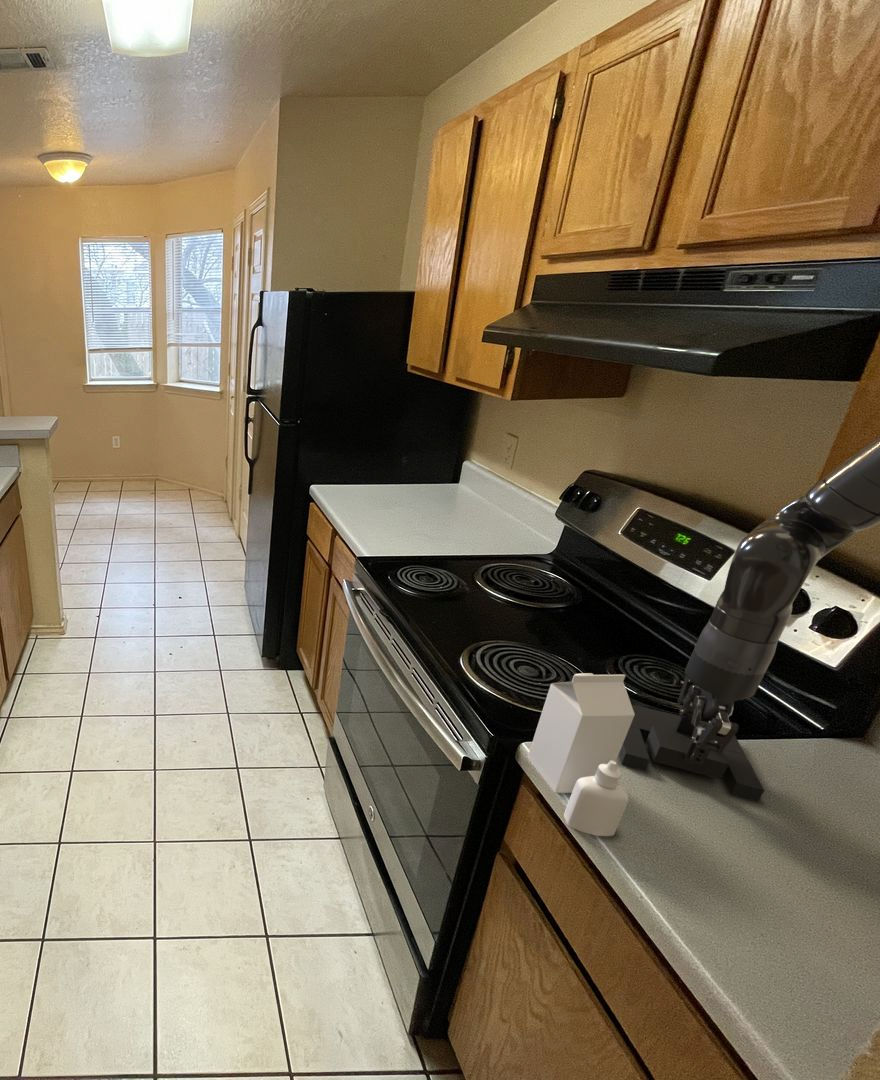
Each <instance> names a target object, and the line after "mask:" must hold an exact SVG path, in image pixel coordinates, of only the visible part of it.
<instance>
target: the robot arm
mask: <svg viewBox="0 0 880 1080" xmlns="http://www.w3.org/2000/svg"><path fill="white" fill-rule="evenodd" d="M879 524H880V436H879V437H877V438H876V439H874V440H873V441H871V442H870V443H868V444H867V445H865V446H864V447H862V448H861V449H859V450H858V451H856V453H854V454H853V455H851V456H849V457H848V458H847V459H846V460H844V461H843V462H842V463H841V464H839V465H837V466H836V467H835V468H834V469H832V470H831V471H830V472H829V473H827V474H826V475H825V476H824V477H822V478H820V480H818V481H817V482H815V483H814V485H813V486H811V488H809V489H808V490H807V491H806V493H804V494H803V495H802V496H800V497H798V498H797V499H795V500H794V501H792V502H791V503H789V504H787V505H785V506H784V507H782V508H781V509H779V510H778V511H777V512H776V513H774V514H773V515H771V516H770V517H768V518H767V519H765V520H764V521H762V522H761V523H759V524H758V525H757V526H756V527H755V528H754V529H752V530H751V531H750V532H749V533H748V534H747V535H745V537H743V539H742V540H741V541H740V542H739V544H738V546H737V547H736V550H735V552H734V554H733V556H732V559H731V561H730V565H729V568H728V572H727V575H726V580H725V583H724V589H723V590H722V592H721V594H720V596H719V597H718V599H717V601H716V604H715V606H714V608H713V610H712V613H711V615H710V617H709V619H708V622H706V625H705V626H703V629H702V630H701V632H700V635H699V637H698V639H697V641H696V644H695V645H694V649H693V650H692V651H691V652H692V653H691V655H690V656H689V659H688V662H687V664H686V667H685V669H684V674H685V677H684V679H683V683H682V686H681V690H680V692H679V696H678V699H677V705H678V706H681V707H680V708H679V711H678V712H679V716H680V719H679V721H678V723H677V725H676V728H675V730H674V731H676V732H680V733H684V734H688V735H692V738H691V740H690V743H689V745H688V747H687V749H686V751H685V754H684V756H683V758H684V760H685V762H687V763H691V764H694V765H698V766H701V765H703V764H704V762H705V760H706V758H707V756H708V754H709V752H710V751H714V752H717V753H721V752H722V751H723V750H724V748H725V747H726V746H727V745H728V743H729V742H730V741H731V739H732V738H733V737H734V735H735V736H736V734H737V733H738V731H739V724H738V723H736V722H731V721H730V718H729V717H730V716H732V715H733V711H734V707H735V706H734V703H735V702H737V701H741V700H748V699H750V698H752V697H754V696H755V694H756V692H757V690H758V688H759V686H760V684H761V682H762V680H763V679H764V676H765V674H766V672H767V670H768V669H769V666H770V665H771V663H772V660H773V659H774V656H775V654H776V650H777V646H778V642H779V640H780V639H781V637H782V634H783V632H784V631H785V628H786V626H787V624H788V622H789V620H790V618H791V616H792V615H791V614H792V612H793V603H794V601H795V600H796V598H797V596H798V594H799V592H800V590H801V589H802V587H803V585H804V584H805V582H806V580H807V578H808V577H809V575H810V573H811V572H812V570H813V569H814V567H815V566H816V565H817V563H818V562H819V561H820V560H821V559H822V558H823V557H825V556H826V555H827V554H829V553H831V551H833V550H834V549H836V548H837V547H839V546H840V545H842V544H843V543H844V542H846V541H848V540H849V539H850V538H851V537H853V536H854V535H856V534H857V533H858V532H860V531H864V530H865V531H866V530H869V529H871V528H873V527H875V526H877V525H879ZM700 721H705V722H708V724H707V723H703V722H700ZM702 730H705V731H704V732H703V733H702V735H701V732H702Z"/></svg>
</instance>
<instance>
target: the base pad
mask: <svg viewBox="0 0 880 1080" xmlns="http://www.w3.org/2000/svg"><path fill="white" fill-rule="evenodd" d="M631 705H632V708H633V711H634V714H635V715H634V718H633V720H632V722H631V725H630V727H629V730H628V732H627V735H626V737H625V740H624V742H623V745H622V747H621V750H620V752H619V755H618V757H619V761H620V765H622V766H625V767H629V768H633V769H637V770H641V771H644V772H646V770H647V768H648V765H649V764H650V761H651V759H650V756H649V755H650V754H649V752H648V749H647V746H646V744H645V743H647V741H646V740H647V738H648V735H649V733H650V731H651V728H652V726H655V727H659V728H663V729H667V730H672V731H674V730H675V728H676V725H677V723H678V721H679V719H680V716H681V715H677V714H675V713H674V714H673V713H669V712H665V711H661V710H656V709H653V708H648V707H644V706H640V705H636V704H632V703H631ZM700 722H703V723H707V724H708V722H709V721H705V720H700ZM704 731H705V730H702V732H701V735H702V733H703V732H704ZM722 752H723V754H724V756H725V758H726V760H727V762H728V764H729V765H728V767H727V769H726V771H725V773H724V775H723V776H722V778H723V780H724V782H725V784H726V786H727V789H728V791H729V793H730V795H733V796H735V797H740V798H743V799H747V800H750V801H754V802H759V801H760V800H761V798H762V797H763V794H764V792H765V788H764V786H763V785H762V783H761V781H760V779H759V777H758V775H757V774H756V771H755V769H754V768H753V766H752V764H751V762H750V761H749V758H748V757H747V755H746V753H745V751H744V750H743V747H742V746H741V744H740V742H739V740H738V739H737V737H736V734H735V735H734V737H733V738H732V739H731V741H730V742H729V743H728V745H727V746H726V747H725V748H724V750H723V751H722Z"/></svg>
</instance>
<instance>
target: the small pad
mask: <svg viewBox="0 0 880 1080" xmlns="http://www.w3.org/2000/svg"><path fill="white" fill-rule="evenodd" d="M691 738H692V735H688V734H684V733H680V732H676V731H672V730H667V729H663V728H659V727H655V726H652V728H651V731H650V733H649V735H648V738H647V740H646V741H647V742H646V743H647V747H648V750H649V752H650V755H651V758H652V761H653V762H655V763H658V764H662V765H664V766H670V767H672V768H677V769H680V770H684V771H688V772H691V773H695V774H700V775H703V776H707V777H710V778H714V779H718V780H722V778H723V775H724V773H725V771H726V769H727V767H728V765H729V764H728V762H727V760H726V758H725V756H724V754H723V752H721V753H717V752H714V751H710V752H709V754H708V756H707V758H706V760H705V762H704V764H703V765H701V766H698V765H694V764H691V763H687V762H685V760H684V758H683V756H684V754H685V751H686V749H687V747H688V745H689V743H690V740H691Z"/></svg>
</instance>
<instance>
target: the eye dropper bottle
mask: <svg viewBox="0 0 880 1080" xmlns="http://www.w3.org/2000/svg"><path fill="white" fill-rule="evenodd" d="M621 777H622V773H621V771H620V770H619V769H618V768H617V761H616V762H615V761H612V760H610V761H609V763H608V764H600V765H599V767H598V769H597V772H596V774H595V776H589V777H583V778H580V779H578V780H577V782H576V784H575V786H574V789H573V791H572V793H570V797H569V799H568V801H567V805H566V807H565V811H564V812H563V818H564V820H565V823H566V825H567V826H568V827H570V828H572V829H574V830H577V831H579V832H582V833H585V834H588V835H593V836H598V837H612V836H615V833H616V831H617V829H618V826H619V824H620V822H621V820H622V817H623V815H624V812H625V810H626V807H627V805H628V801H629V795H628V793H627V791H626V788H624V786H622V785H621V784H619V782H620V780H621Z"/></svg>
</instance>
